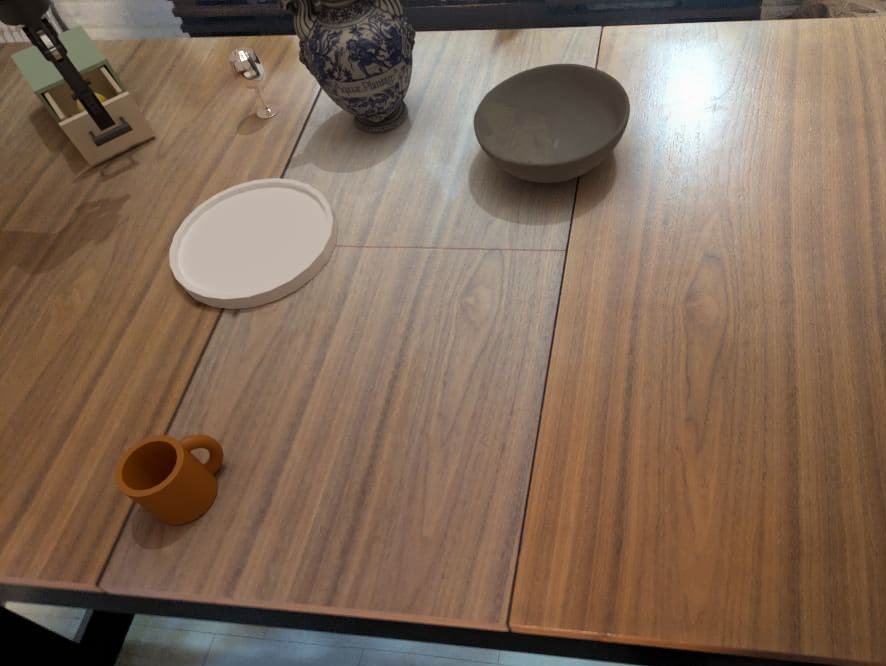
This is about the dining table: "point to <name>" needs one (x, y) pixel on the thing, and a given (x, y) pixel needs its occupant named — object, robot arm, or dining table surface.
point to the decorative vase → (358, 56)
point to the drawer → (84, 128)
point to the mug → (170, 476)
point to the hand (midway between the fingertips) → (107, 125)
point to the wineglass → (251, 76)
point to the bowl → (552, 121)
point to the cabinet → (45, 73)
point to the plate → (253, 243)
